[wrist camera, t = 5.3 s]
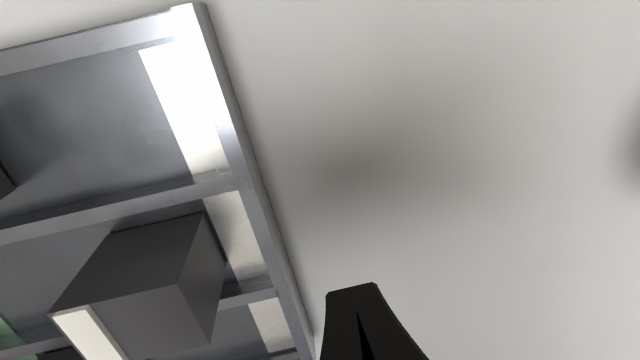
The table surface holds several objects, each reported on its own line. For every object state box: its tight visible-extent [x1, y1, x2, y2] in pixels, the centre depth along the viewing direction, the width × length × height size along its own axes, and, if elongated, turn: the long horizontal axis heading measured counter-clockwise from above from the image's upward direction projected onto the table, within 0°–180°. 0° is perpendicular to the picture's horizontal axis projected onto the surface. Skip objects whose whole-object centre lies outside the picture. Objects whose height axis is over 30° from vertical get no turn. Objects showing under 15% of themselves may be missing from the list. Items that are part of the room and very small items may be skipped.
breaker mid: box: [46, 212, 227, 360], centre depth 13 cm, size 4×3×4 cm
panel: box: [0, 3, 316, 360], centre depth 14 cm, size 15×17×2 cm
